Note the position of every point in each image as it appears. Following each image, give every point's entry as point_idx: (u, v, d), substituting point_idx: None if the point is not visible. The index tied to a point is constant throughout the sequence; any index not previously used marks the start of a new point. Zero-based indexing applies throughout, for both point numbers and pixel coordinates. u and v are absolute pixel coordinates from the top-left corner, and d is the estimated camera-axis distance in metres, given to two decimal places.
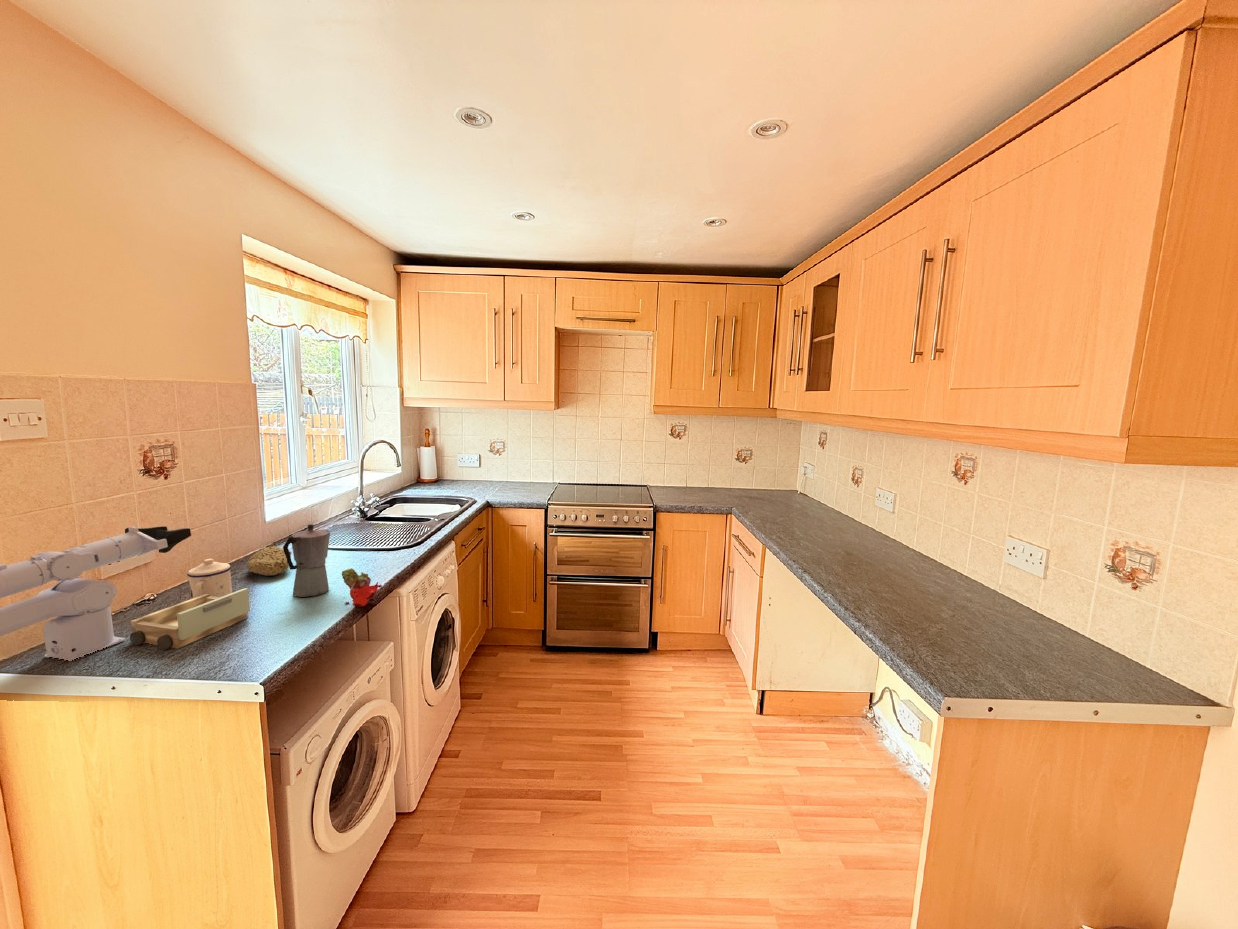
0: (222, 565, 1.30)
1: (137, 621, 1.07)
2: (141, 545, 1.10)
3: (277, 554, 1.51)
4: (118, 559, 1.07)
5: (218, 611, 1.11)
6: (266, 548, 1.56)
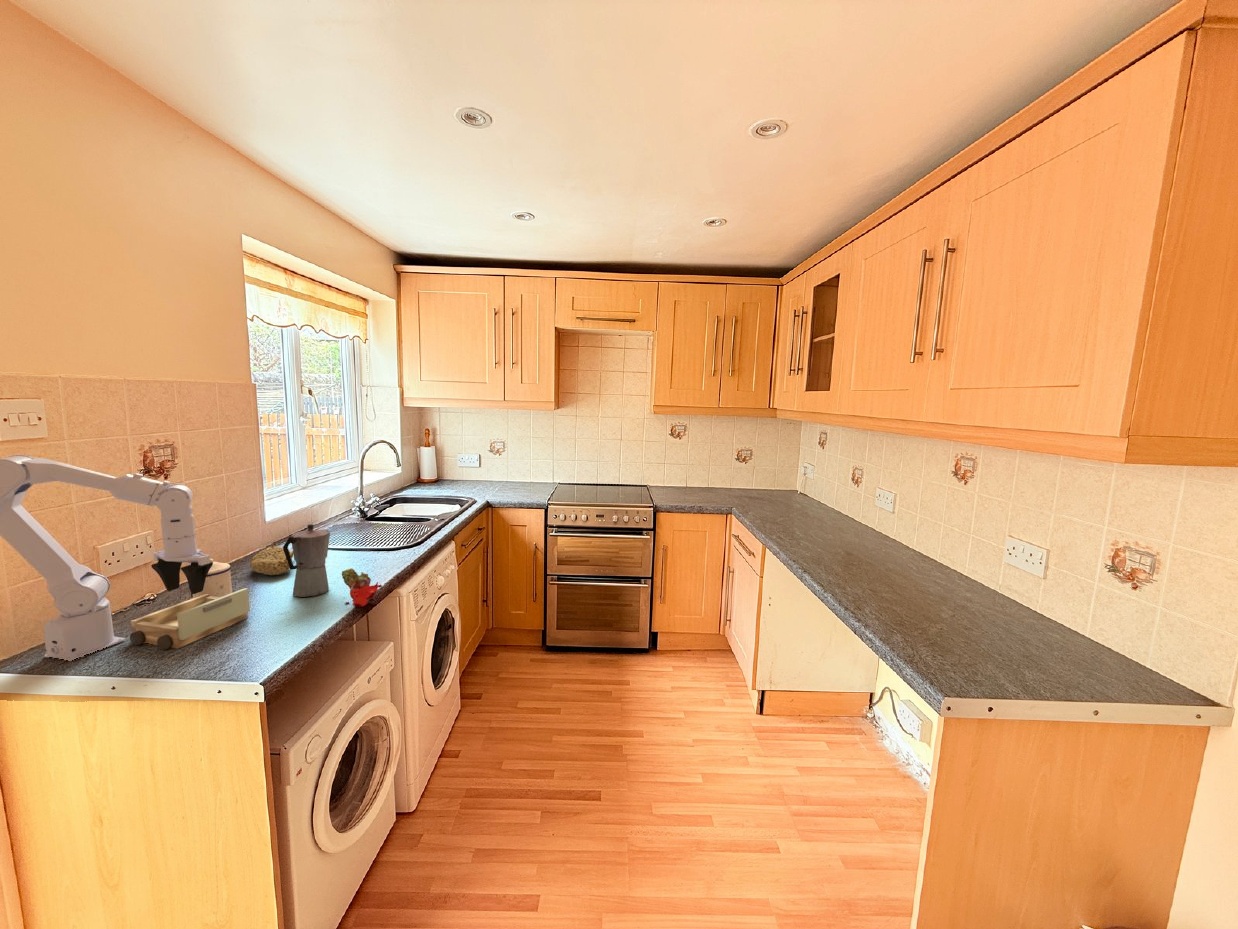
0: (222, 565, 1.30)
1: (137, 621, 1.07)
2: (189, 553, 1.11)
3: (280, 554, 1.52)
4: (166, 538, 1.08)
5: (218, 611, 1.11)
6: (269, 548, 1.56)
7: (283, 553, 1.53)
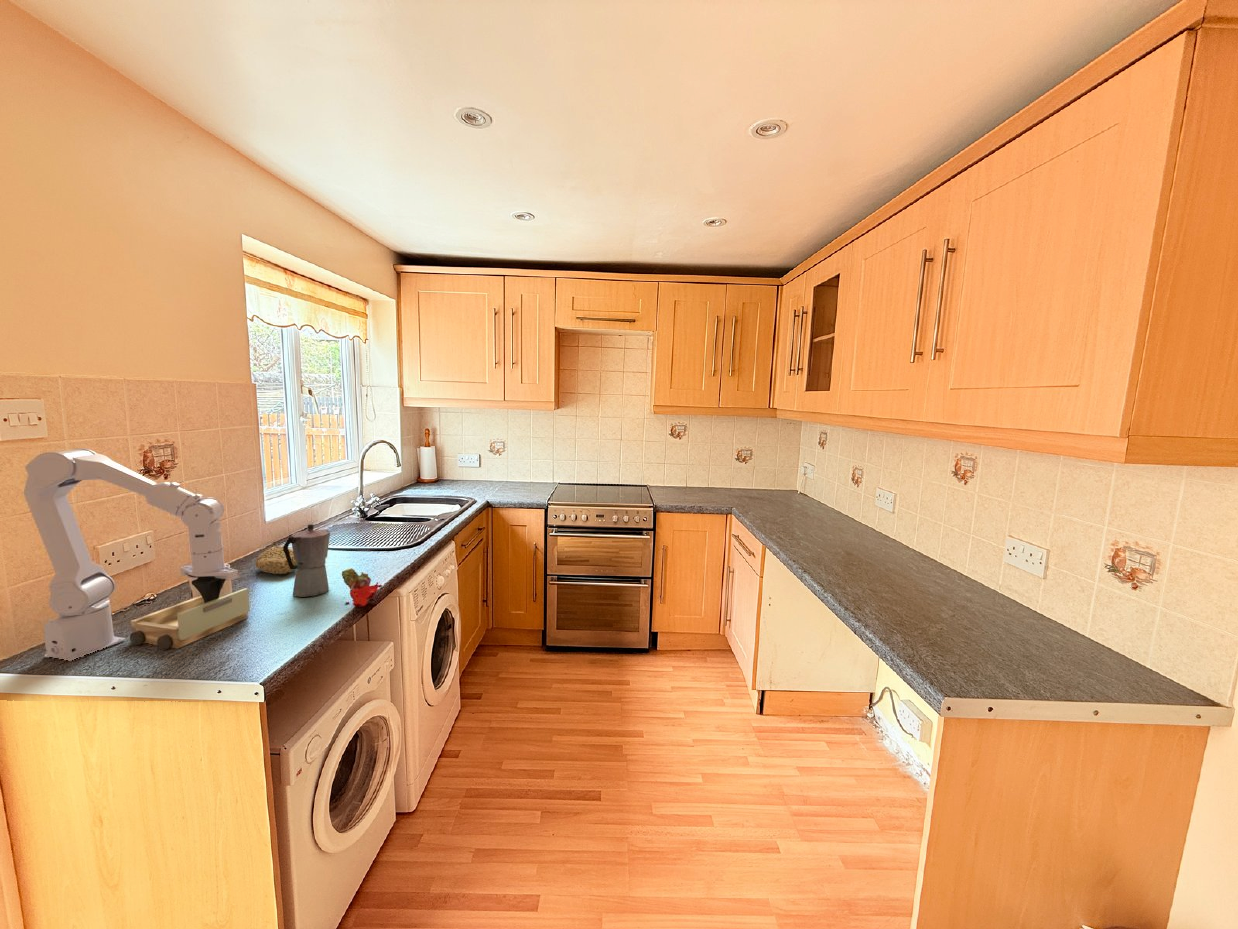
0: None
1: (137, 621, 1.07)
2: (217, 568, 1.09)
3: None
4: (192, 553, 1.07)
5: (218, 611, 1.11)
6: (273, 547, 1.57)
7: None
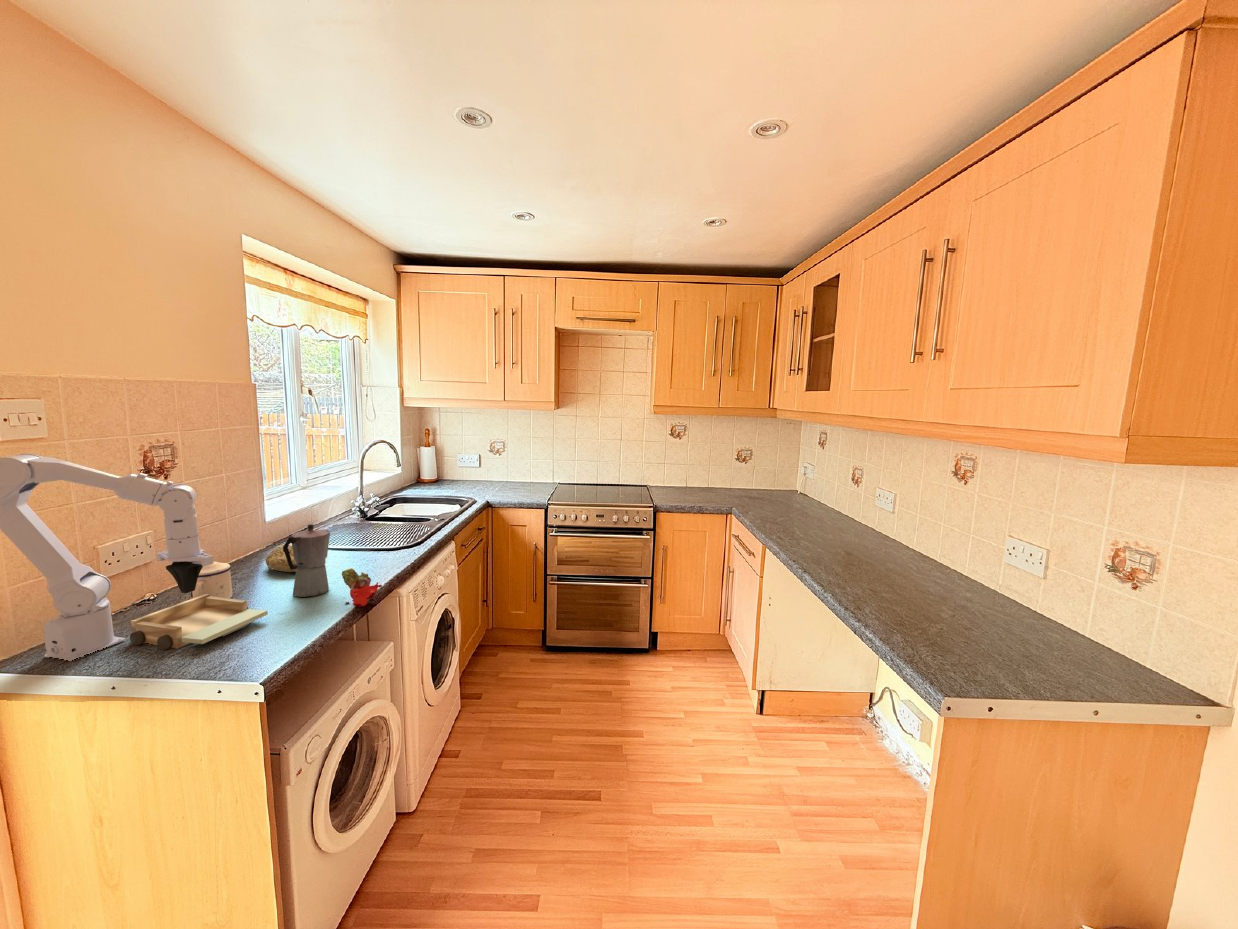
0: (222, 565, 1.30)
1: (137, 621, 1.07)
2: (193, 553, 1.10)
3: None
4: (169, 538, 1.08)
5: None
6: (282, 546, 1.58)
7: None
